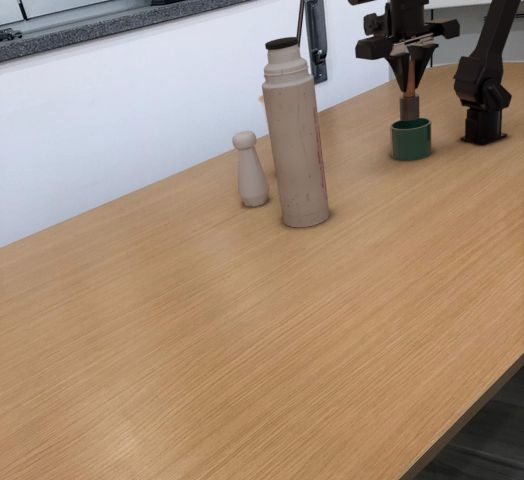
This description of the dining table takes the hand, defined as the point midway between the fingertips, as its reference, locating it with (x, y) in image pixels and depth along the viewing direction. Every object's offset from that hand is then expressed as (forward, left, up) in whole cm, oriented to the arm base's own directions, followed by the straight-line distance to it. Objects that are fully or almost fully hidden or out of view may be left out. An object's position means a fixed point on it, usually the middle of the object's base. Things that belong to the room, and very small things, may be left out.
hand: (409, 90), depth 110 cm
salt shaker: (+32, -6, -13) cm, 35 cm away
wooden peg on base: (0, 0, -5) cm, 5 cm away
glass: (+18, -15, -13) cm, 27 cm away
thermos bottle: (+29, +8, -13) cm, 32 cm away
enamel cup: (-2, -3, -13) cm, 14 cm away
